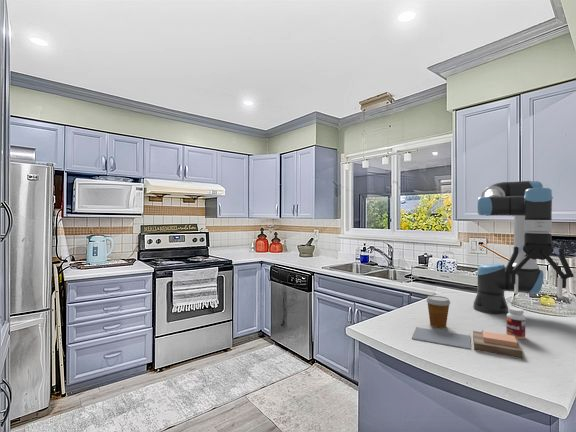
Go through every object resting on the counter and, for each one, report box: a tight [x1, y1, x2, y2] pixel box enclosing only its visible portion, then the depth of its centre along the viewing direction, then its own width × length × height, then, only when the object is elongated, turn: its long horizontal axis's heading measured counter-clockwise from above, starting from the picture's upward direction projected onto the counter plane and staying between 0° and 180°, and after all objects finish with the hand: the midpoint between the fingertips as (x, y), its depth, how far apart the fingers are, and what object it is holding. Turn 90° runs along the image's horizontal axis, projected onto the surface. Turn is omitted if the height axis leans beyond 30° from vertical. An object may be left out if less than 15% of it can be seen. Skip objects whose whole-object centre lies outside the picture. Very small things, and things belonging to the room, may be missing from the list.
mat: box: [411, 326, 472, 350], centre depth 126 cm, size 14×20×1 cm
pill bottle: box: [505, 307, 527, 340], centre depth 128 cm, size 6×6×11 cm
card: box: [481, 330, 517, 347], centre depth 117 cm, size 7×10×2 cm
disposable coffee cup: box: [426, 295, 451, 329], centre depth 140 cm, size 10×10×12 cm
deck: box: [472, 330, 523, 359], centre depth 118 cm, size 14×14×2 cm
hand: (537, 295), depth 112 cm, fingers open, 11 cm apart
